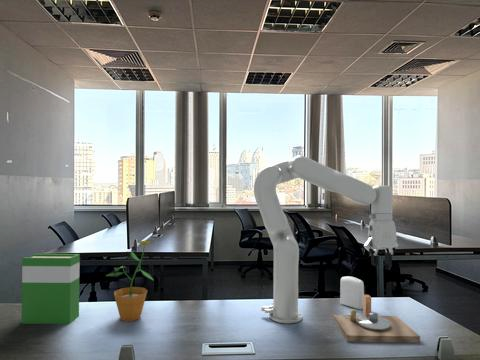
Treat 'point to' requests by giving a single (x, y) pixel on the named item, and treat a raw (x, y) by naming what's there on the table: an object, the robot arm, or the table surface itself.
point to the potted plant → (130, 292)
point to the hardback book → (50, 288)
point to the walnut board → (360, 334)
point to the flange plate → (373, 326)
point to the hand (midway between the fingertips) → (381, 264)
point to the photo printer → (351, 292)
